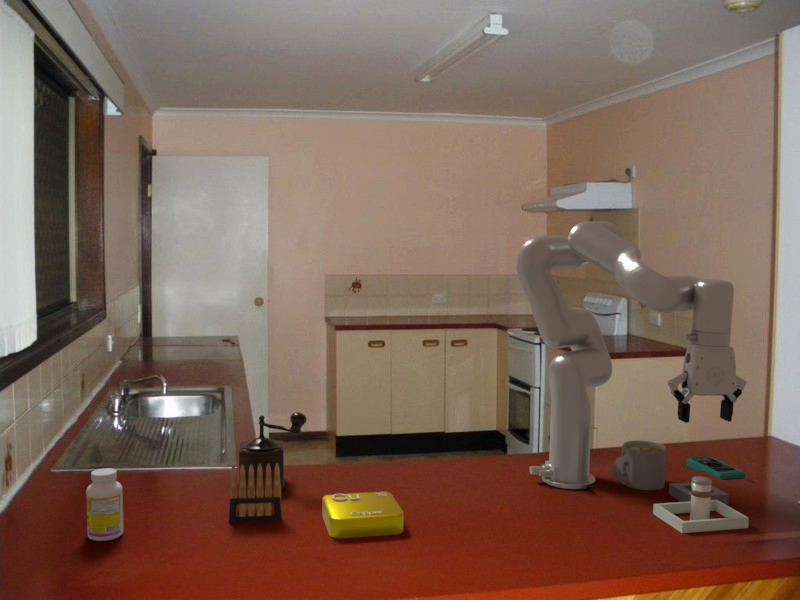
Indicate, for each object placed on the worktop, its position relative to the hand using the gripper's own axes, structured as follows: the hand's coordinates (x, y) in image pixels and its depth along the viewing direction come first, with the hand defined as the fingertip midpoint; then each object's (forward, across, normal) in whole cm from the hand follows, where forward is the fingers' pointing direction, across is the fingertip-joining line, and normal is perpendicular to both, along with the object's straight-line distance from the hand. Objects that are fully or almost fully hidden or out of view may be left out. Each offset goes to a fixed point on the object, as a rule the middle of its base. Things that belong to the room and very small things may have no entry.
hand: (704, 420), depth 171 cm
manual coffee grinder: (+23, -87, +36) cm, 97 cm away
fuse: (+21, -1, -3) cm, 21 cm away
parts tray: (+21, -1, -3) cm, 22 cm away
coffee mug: (+22, -3, +22) cm, 31 cm away
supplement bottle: (+23, -121, +10) cm, 123 cm away
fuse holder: (+22, +5, +9) cm, 24 cm away
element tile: (+23, -70, +9) cm, 75 cm away
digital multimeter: (+22, +22, +29) cm, 43 cm away
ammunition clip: (+23, -92, +14) cm, 96 cm away
